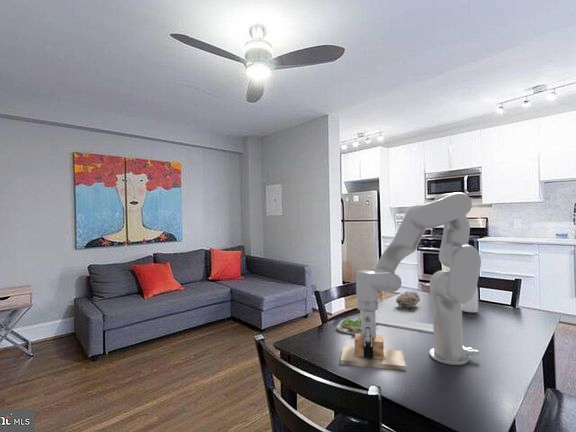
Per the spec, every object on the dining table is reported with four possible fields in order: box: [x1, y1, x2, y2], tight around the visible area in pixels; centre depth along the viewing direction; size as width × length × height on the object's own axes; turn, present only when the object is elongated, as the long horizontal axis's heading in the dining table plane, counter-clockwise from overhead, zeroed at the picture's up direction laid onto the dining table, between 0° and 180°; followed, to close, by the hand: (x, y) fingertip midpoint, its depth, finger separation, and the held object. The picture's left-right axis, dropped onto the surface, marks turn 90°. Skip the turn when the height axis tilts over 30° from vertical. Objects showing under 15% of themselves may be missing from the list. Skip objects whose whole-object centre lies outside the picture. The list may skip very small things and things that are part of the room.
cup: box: [461, 286, 479, 313], centre depth 163 cm, size 8×8×14 cm
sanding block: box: [354, 334, 385, 359], centre depth 114 cm, size 10×6×6 cm, turn 75°
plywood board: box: [340, 345, 407, 371], centre depth 113 cm, size 22×12×2 cm, turn 75°
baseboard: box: [376, 315, 434, 334], centre depth 149 cm, size 31×3×12 cm
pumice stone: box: [395, 291, 421, 309], centre depth 176 cm, size 14×12×8 cm
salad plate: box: [336, 316, 379, 336], centre depth 143 cm, size 19×18×5 cm
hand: (368, 352), depth 114 cm, fingers closed on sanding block, 6 cm apart
